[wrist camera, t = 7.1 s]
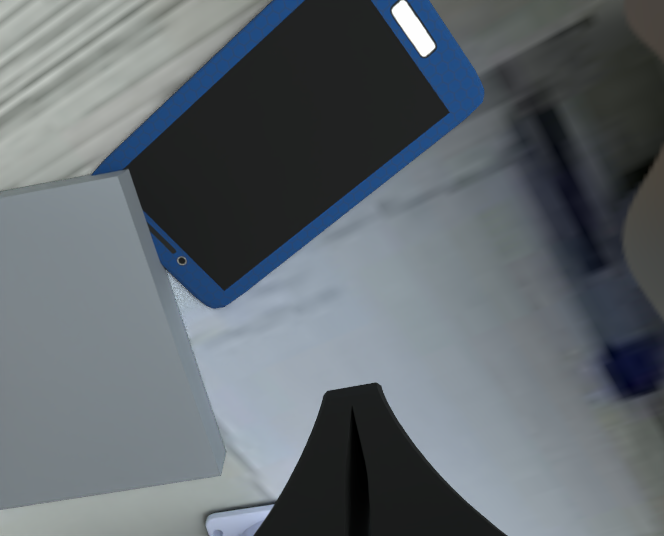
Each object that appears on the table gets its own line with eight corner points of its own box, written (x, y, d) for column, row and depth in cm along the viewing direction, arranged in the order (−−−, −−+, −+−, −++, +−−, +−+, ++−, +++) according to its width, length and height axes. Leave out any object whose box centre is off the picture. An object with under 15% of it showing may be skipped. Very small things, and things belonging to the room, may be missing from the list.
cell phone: (488, 95, 19) (495, 97, 19) (217, 309, 23) (213, 318, 22) (367, -88, 17) (369, -93, 16) (84, 180, 20) (76, 185, 20)
